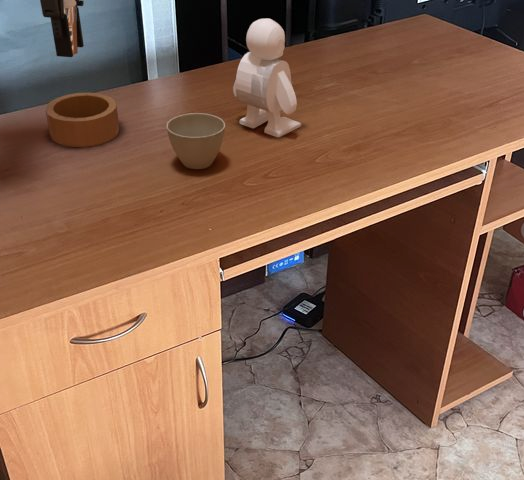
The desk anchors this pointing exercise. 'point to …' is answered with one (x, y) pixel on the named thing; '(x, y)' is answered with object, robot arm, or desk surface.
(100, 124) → the tape
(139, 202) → the desk surface
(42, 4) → the robot arm
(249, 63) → the toy robot
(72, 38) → the milkshake
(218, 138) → the flower pot
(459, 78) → the desk surface
